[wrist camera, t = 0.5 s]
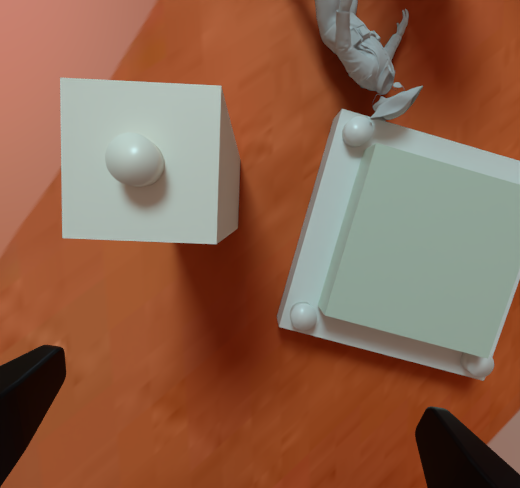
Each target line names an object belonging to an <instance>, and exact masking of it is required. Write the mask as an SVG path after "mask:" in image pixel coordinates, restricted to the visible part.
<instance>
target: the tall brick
mask: <svg viewBox="0 0 520 488" xmlns="http://www.w3.org/2000/svg"><path fill="white" fill-rule="evenodd" d="M60 95H61V96H60V98H61V171H62V238H74V239H99V240H123V241H148V242H172V243H197V244H218V243H219V242H220V241H222V240H223V239H224V238H226V237H227V236H228V235H230V234H231V233H232V232H234V231H235V230H236V229H238V213H239V185H240V156H239V152H238V149H237V145H236V141H235V137H234V133H233V129H232V125H231V121H230V118H229V114H228V110H227V106H226V102H225V98H224V94H223V90H222V87H221V86H215V85H195V84H175V83H156V82H136V81H116V80H95V79H77V78H76V79H75V78H60Z"/></svg>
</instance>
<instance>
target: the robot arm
mask: <svg viewBox="0 0 520 488" xmlns="http://www.w3.org/2000/svg"><path fill="white" fill-rule="evenodd" d="M65 377H66V364H65V353H64V349H63V348H62V347H58V346H52V345H43V346H40V347H38V348H36V349H34V350H32V351H30V352H28V353H26V354H24V355H22V356H20V357H18V358H16V359H14V360H12V361H9V362H7V363H5V364H3V365H1V366H0V487H1V485H2V484H3V482H4V481H5V479H6V478H7V476H8V475H9V474H10V472H11V471H12V469H13V468H14V466H15V465H16V463H17V462H18V460H19V459H20V457H21V456H22V454H23V453H24V451H25V450H26V448H27V446H28V445H29V443H30V441H31V440H32V438H33V436H34V434H35V433H36V431H37V429H38V427H39V425H40V424H41V422H42V420H43V418H44V417H45V415H46V413H47V411H48V409H49V408H50V406H51V404H52V402H53V400H54V399H55V397H56V395H57V393H58V392H59V390H60V388H61V386H62V384H63V382H64V380H65ZM415 437H416V442H417V446H418V451H419V455H420V459H421V463H422V467H423V471H424V475H425V479H426V483H427V488H520V475H519V474H518V473H517V472H516V471H515V470H514V469H513V468H512V467H510V466H509V465H508V464H507V463H506V462H505V461H504V460H503V459H502V458H500V457H499V456H498V455H497V454H496V453H495V452H494V451H493V450H491V449H490V448H489V447H488V446H487V445H486V444H485V443H484V442H483V441H482V440H480V439H479V438H478V437H477V436H476V435H475V434H474V433H473V432H471V431H470V430H469V429H468V428H467V427H466V426H465V425H464V424H463V423H461V422H460V421H459V420H458V419H457V418H456V417H455V416H454V415H453V414H451V413H450V412H449V411H448V410H446V409H444V408H438V407H428V408H427V409H426V410H425V412H424V414H423V416H422V418H421V419H420V421H419V423H418V425H417V427H416V431H415Z"/></svg>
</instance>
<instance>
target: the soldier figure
mask: <svg viewBox="0 0 520 488" xmlns="http://www.w3.org/2000/svg"><path fill="white" fill-rule="evenodd" d="M357 3H358V0H315V6H316V17H317V22H318V27H319V31H320V36H321V38H322V41H323V43H324V44H325V45H326V46H327V47H328V48H330V49H331V50H332V51H333V53H335V54H337V56H338V58H339V59H340V60H341V62H342V63H343V65H344V66H345V69H346V71H347V72H348V75H349V76H350V78H353V80H354V81H355V82H356V83H357V84H359V85H360V87H361V88H366V89H368V90H371V91H377V93H379V94H381V95H385V94H387V93H388V92H389V91H390V89H391V87H392V86H394V87H399V88H401V87H403V86H402V85H401V84H400V83H399V82H395V83H394V84H393V82H394V76H395V71H394V67H393V64H392V62H391V61H392V59H393V56H394V53H395V51H396V49H397V47H398V45H399V43H400V41H401V39H402V35H403V34H404V32H405V28H406V26H407V24H408V19H409V13H408V10H407V9H405V12H404V10H402V13H403V19H402V21H401V23H400V25H399V23H397V33H396V34H393V35H392V37H391V38H390V39H389V41H388V43H387V44H386V46H385V47H384V48H383V46H382V45H381V43H380V37H379V36H378V34H377V33H376V32H375V31H374V30H373V31H369V30H368V29H367V27H366V25H365V24H364V23H363V22H362V21H361V20H360V19H358V18H357V17H356V10H357ZM422 88H423V86H419V87H416V88H412V89H410V90H408V91H402V92H400V93H398V94H397V95H395V96H392V97H390V98H385V97H383V96H381V97H380V100H379V101H378V102H376V103H375V104H374V105H372V106H373V109H374V111H375V113H374V114H373V115H372V116H371V118H370V119H371V120H381V121H386V119H387V120H390V119H393V118H396V117H399V116H400V115H402V114H404V113H405V112H406V111H407V110H408V109H409V108H410V106H411V105H412V104H413V103H414V101H415V100H416V98H417V97H418V95H419V93H420V91H421V89H422ZM403 89H404V88H403ZM393 90H394V89H393ZM404 90H405V89H404ZM377 95H378V94H377ZM375 97H376V96H375ZM374 100H375V99H374ZM374 100H373V101H374ZM372 103H373V102H372Z"/></svg>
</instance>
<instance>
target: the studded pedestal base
mask: <svg viewBox="0 0 520 488" xmlns="http://www.w3.org/2000/svg"><path fill="white" fill-rule="evenodd" d="M370 118H371V117H369V116H365V115H362V114H359V113H355V112H352V111H348V110H345V109H341V110H340V112H339V113H338V114H337V115H336V117H335V118H334V119H333V123H332V126H331V130H330V133H329V137H328V140H327V144H326V147H325V151H324V154H323V157H322V161H321V164H320V168H319V171H318V175H317V178H316V182H315V185H314V189H313V192H312V196H311V199H310V203H309V206H308V210H307V213H306V217H305V220H304V224H303V227H302V231H301V234H300V238H299V241H298V244H297V248H296V251H295V255H294V258H293V262H292V265H291V269H290V272H289V276H288V279H287V283H286V286H285V290H284V293H283V297H282V300H281V304H280V307H279V311H278V314H277V320H278V325H279V327H281V328H285V329H289V330H293V331H296V332H300V333H304V334H308V335H312V336H315V337H319V338H323V339H327V340H331V341H334V342H338V343H342V344H346V345H350V346H353V347H357V348H361V349H365V350H369V351H372V352H376V353H380V354H384V355H388V356H391V357H395V358H399V359H403V360H407V361H410V362H414V363H418V364H422V365H426V366H429V367H433V368H437V369H441V370H445V371H448V372H452V373H456V374H460V375H464V376H467V377H471V378H475V379H479V380H483V381H484V379H485V376H487V375H489V374H490V373H491V372H492V370H493V368H494V360H493V358H492V356H493V353H494V351H495V348H496V345H497V342H498V339H499V336H500V333H501V331H502V328H503V325H504V322H505V319H506V316H507V314H508V311H509V308H510V305H511V302H512V299H513V297H514V294H515V291H516V288H517V285H518V282H519V279H520V161H518V160H515V159H511V158H508V157H505V156H501V155H498V154H494V153H491V152H488V151H484V150H481V149H477V148H474V147H471V146H467V145H464V144H460V143H457V142H454V141H450V140H447V139H443V138H440V137H437V136H433V135H430V134H426V133H423V132H420V131H416V130H413V129H409V128H406V127H403V126H399V125H396V124H392V123H389V122H386V121H381V120H371V119H370Z"/></svg>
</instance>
